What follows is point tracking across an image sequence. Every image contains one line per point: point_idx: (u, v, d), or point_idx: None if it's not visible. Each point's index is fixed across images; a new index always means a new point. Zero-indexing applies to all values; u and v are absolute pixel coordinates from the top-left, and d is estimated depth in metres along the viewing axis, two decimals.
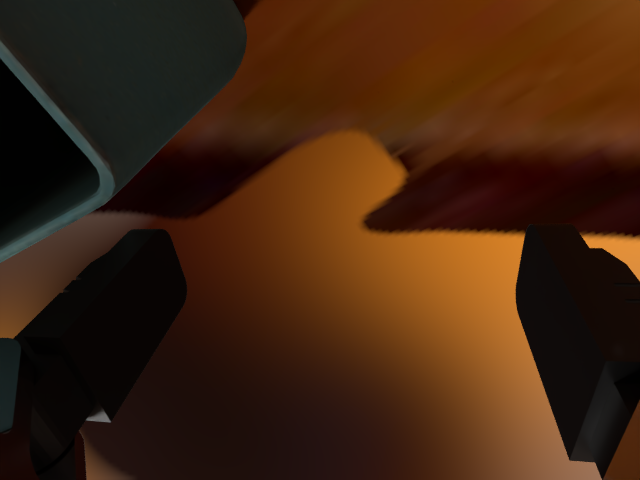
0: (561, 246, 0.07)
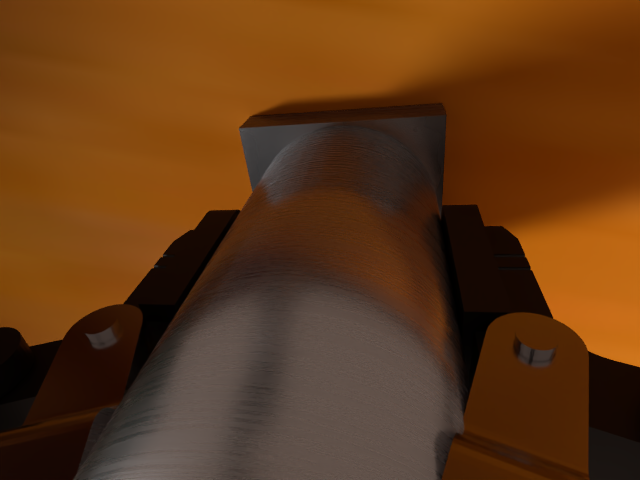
0: (460, 223, 0.08)
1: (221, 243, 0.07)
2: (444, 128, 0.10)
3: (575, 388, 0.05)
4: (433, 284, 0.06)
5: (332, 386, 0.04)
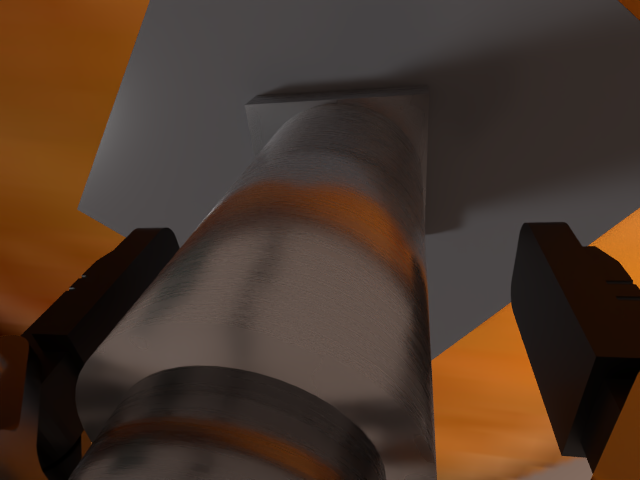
0: (554, 244, 0.07)
1: None
2: (428, 106, 0.11)
3: None
4: (400, 225, 0.07)
5: (301, 273, 0.05)
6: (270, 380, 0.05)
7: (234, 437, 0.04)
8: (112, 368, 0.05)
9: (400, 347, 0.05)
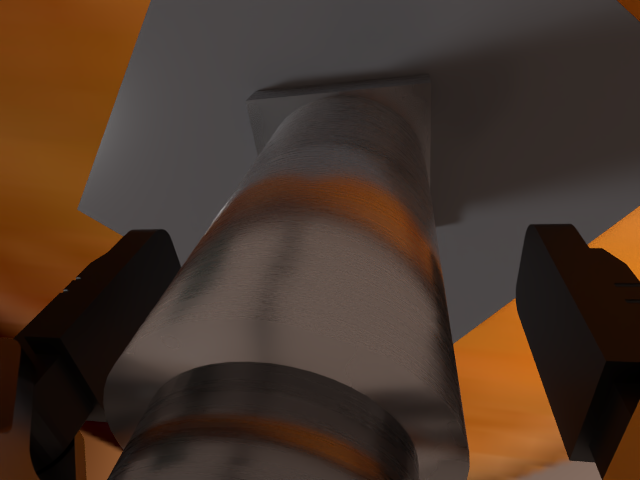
0: (561, 246, 0.07)
1: (234, 191, 0.09)
2: (430, 95, 0.11)
3: None
4: (414, 214, 0.07)
5: (327, 265, 0.05)
6: (303, 373, 0.05)
7: (275, 431, 0.04)
8: (142, 369, 0.05)
9: (427, 334, 0.05)
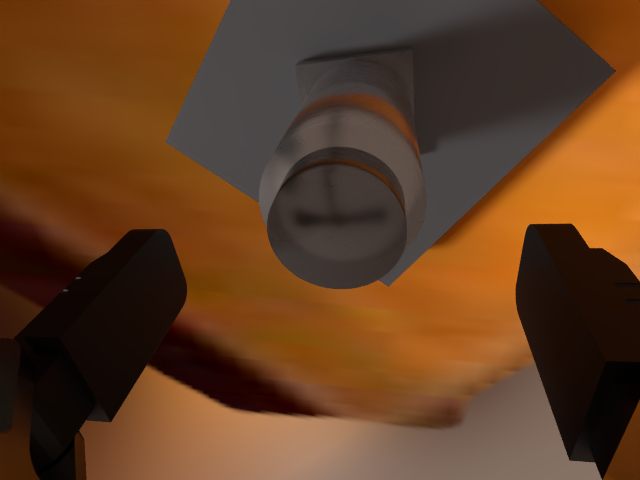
0: (561, 246, 0.07)
1: (300, 108, 0.15)
2: (412, 58, 0.17)
3: None
4: (402, 112, 0.14)
5: (363, 113, 0.12)
6: (356, 150, 0.11)
7: (349, 158, 0.10)
8: (284, 157, 0.11)
9: (407, 143, 0.12)
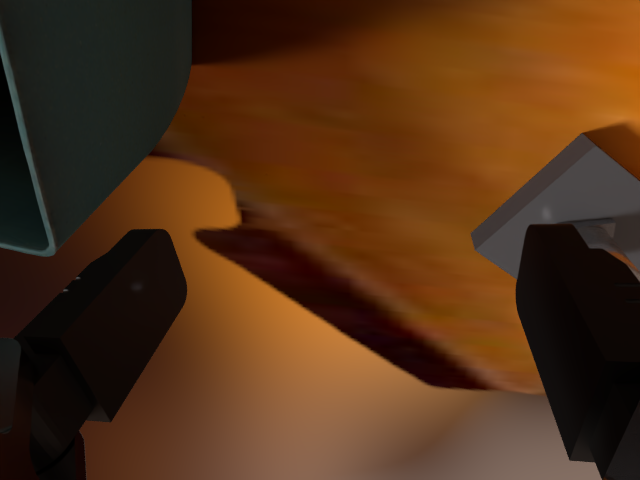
0: (561, 246, 0.07)
1: None
2: (615, 225, 0.42)
3: None
4: None
5: None
6: None
7: None
8: None
9: None
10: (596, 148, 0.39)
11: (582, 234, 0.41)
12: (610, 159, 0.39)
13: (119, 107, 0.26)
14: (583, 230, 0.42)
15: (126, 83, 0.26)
